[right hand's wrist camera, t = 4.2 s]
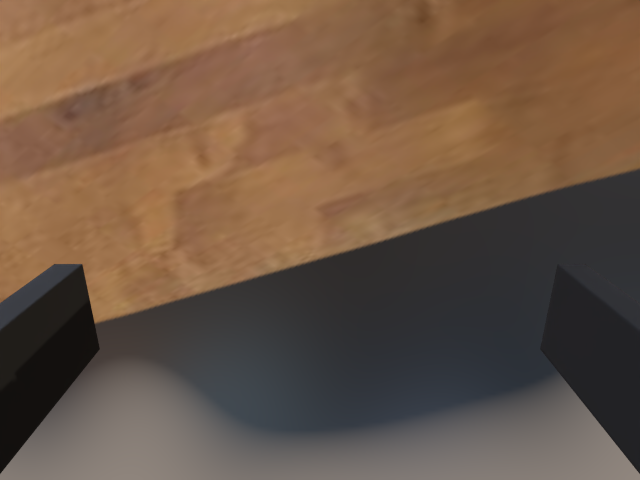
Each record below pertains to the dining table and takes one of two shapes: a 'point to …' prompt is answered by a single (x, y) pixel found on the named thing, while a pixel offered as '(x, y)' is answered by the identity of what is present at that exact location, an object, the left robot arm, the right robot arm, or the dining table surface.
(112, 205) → the dining table surface
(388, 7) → the dining table surface
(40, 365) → the right robot arm
